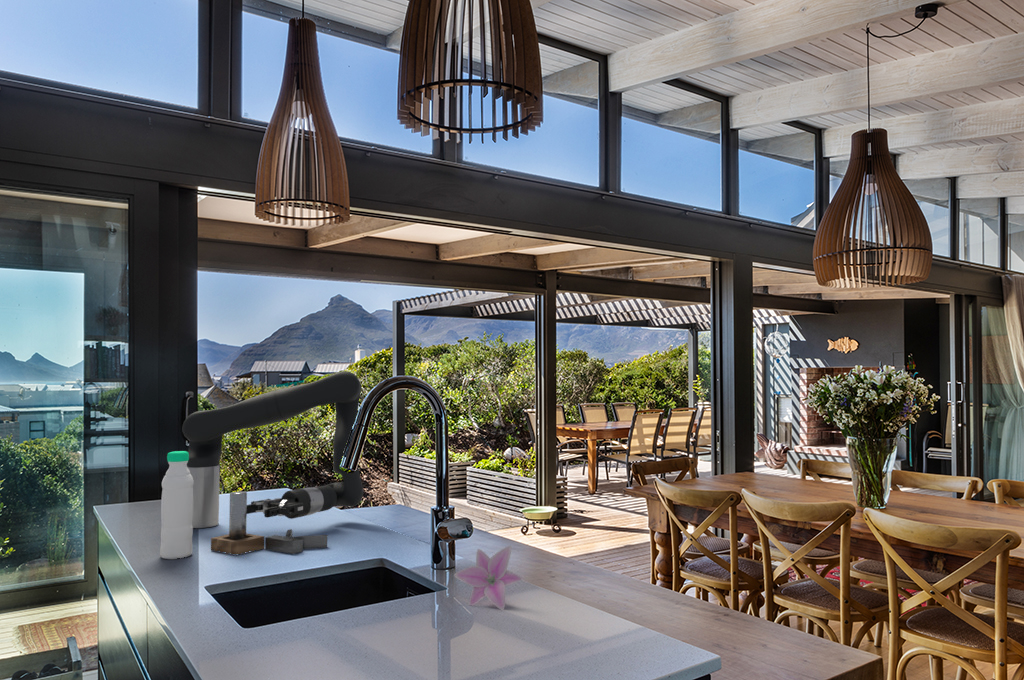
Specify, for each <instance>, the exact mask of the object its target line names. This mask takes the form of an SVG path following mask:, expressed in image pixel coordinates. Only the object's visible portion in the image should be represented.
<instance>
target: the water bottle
mask: <svg viewBox="0 0 1024 680" xmlns="http://www.w3.org/2000/svg"><path fill="white" fill-rule="evenodd" d="M166 460H167V463H168V465H169V466H168V469H167V470H166V472H165V475H163V478H162V481H161V488H162V491H161V499H160V500H161V503H160V504H161V505H160V507H161V508H160V518H161V520H160V521H161V528H160V540H161V541H160V549H159V550H160V551H159V553H160V554H159V555H160V558H161V559H165V560H178V559H177V558H180V559H184V557H185V558H187V557H190V556H191V555H192V553H193V532H194V528H193V527H192V519H193V487H192V486H193V484H194V480H193V478H192V476H191V474H190V471H189V469H188V468H187V463H188V460H189V453H188V451H187V450H179V451H178V450H175V451H170V452H168V453H167V456H166Z"/></svg>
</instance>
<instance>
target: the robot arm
mask: <svg viewBox="0 0 1024 680" xmlns="http://www.w3.org/2000/svg"><path fill="white" fill-rule="evenodd" d="M361 393H362V383H361V381H360V379H359V378H358V376H357V375H356V374H354V373H353V372H351V371H339V372H335V373H334V374H330V375H329V376H326V377H323V378H321V379H317V380H316V381H313V382H308V383H303V384H298V385H294V386H289V387H284V388H280V389H275V390H271V391H268V392H265V393H262V394H258V395H255V396H253V397H250V398H247V399H244V400H242V401H240V402H237V403H235V404H231V405H229V406H224V407H219V408H214V409H207V410H206V409H203V410H199V411H194V412H193V413H190V414H189V415H188V416H187V417H186V419H184V421H183V424H182V428H181V429H182V433H183V436H184V437H185V438H186V439H187V440H188V442H189V443H188V451H187V452H188V453H189V460H188V463H187V468H188V469H189V471H190V474H191V476H192V478H193V480H194V484H193V486H192V487H193V519H192V527H193V529H203V528H211V527H215V526H218V525H219V522H220V520H219V516H220V465H221V464H220V462H221V461H220V459H221V456H222V451H223V435H225V434H228V433H232V432H235V431H238V430H244V429H251V428H257V427H263V426H267V425H272V424H276V423H278V422H282V421H286V420H290V419H291V418H294V417H296V416H299V415H301V414H303V413H306V412H307V411H309V410H311V409H313V408H317V407H321V406H325V405H329V404H334V407H335V429H334V438H333V446H332V450H333V451H332V452H333V453H332V454H333V455H332V461H333V463H332V466H333V468H332V469H333V471H334V473H336V474H339V475H341V476H342V479H343V481H339V482H338V481H337V482H332V483H329V484H325V485H320V486H316V487H315V486H313V487H303V488H298V489H291V490H287V491H285V492H284V493H283V495H282V496H281V498H280V497H279V498H274V499H270V498H267V499H260V500H253V501H251V502H250V504H247V515H250V514H254V513H255V514H256V513H263V515H264V518H267V519H268V518H273V517H286V518H287V519H289V520H291V519H292V520H293V519H298V518H301V517H302V518H303V517H307V516H310V515H314V514H316V513H321V512H325V511H329V510H331V509H332V508H335V507H354V506H357V505H359V504H360V503H361V502H362V500H363V496H364V487H363V482H362V478H361V474H360V471H359V468H357V470H356V471H355V472H354V473H347V472H345V471H342V470H340V469H339V465H340V462H341V459H342V456H343V451H344V448H345V446H346V443H347V440H348V436H349V434H350V431H351V429H352V426H353V424H354V421H355V418H356V415H357V416H358V409H359V403H360V397H361Z"/></svg>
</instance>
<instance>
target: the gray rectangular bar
mask: <svg viewBox="0 0 1024 680" xmlns="http://www.w3.org/2000/svg"><path fill="white" fill-rule="evenodd" d="M247 505H248V492H247V491H233V492H230V493H229V518H228V519H229V522H228V524H229V526H228V527H229V528H228V530H229V531H228V532H229V533H228V534H229V540H235V541H236V540H240V539H245V538H246V534H247V517H248V516H247V515H248V514H247Z"/></svg>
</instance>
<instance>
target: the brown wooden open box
mask: <svg viewBox="0 0 1024 680" xmlns="http://www.w3.org/2000/svg"><path fill="white" fill-rule="evenodd" d="M263 549H264V550H265V536H264V535H258V534H251V533H246V538H245V539H240V540H236V541H235V540H229V533H228V534H222V535H219V536H216V537H211V538H210V551H212V550H214V551H213V552H217V551H220V552H219V553H222V552H226V553H225V554H228V553H231V554H230V555H233V554H240V555H242V554H241V553H244V554H246V553H245V552H248V553H250V552H249V551H252V552H255V551H254V550H256V551H260V550H263Z"/></svg>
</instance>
